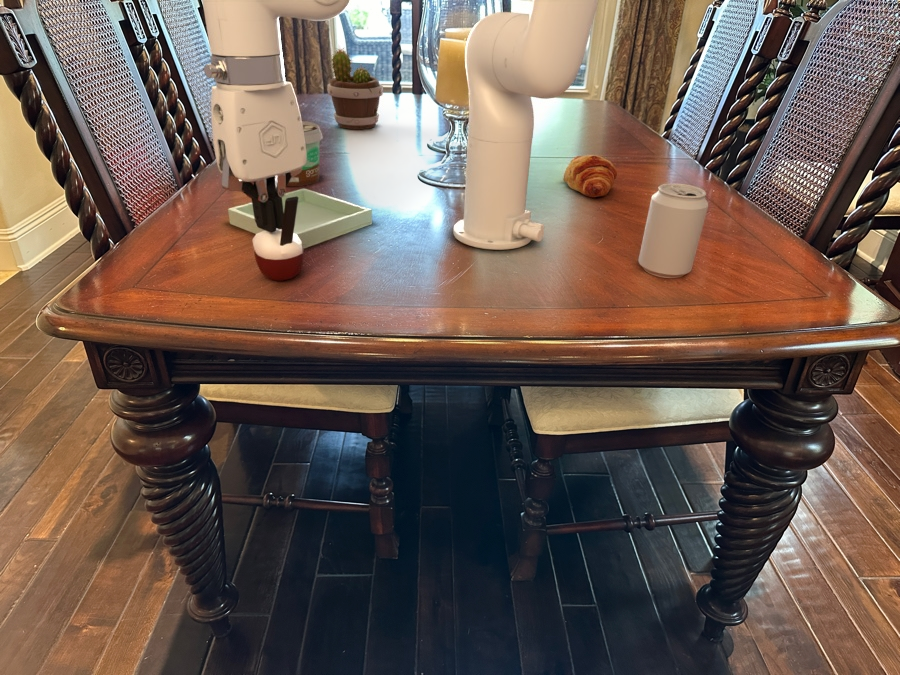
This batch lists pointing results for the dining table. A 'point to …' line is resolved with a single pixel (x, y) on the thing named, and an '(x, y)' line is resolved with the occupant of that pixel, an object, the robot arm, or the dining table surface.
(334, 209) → the tray
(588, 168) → the croissant
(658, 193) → the can
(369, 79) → the flowerpot
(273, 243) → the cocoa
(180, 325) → the dining table surface
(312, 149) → the food container
